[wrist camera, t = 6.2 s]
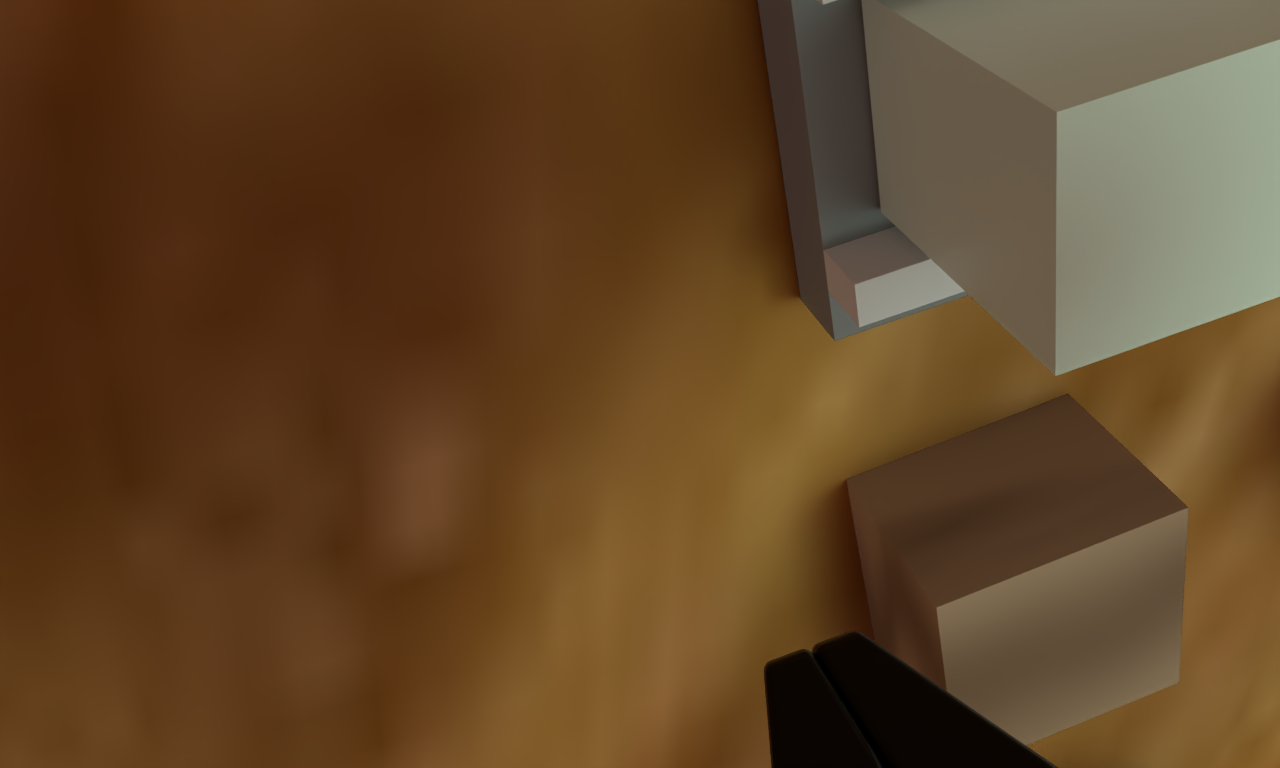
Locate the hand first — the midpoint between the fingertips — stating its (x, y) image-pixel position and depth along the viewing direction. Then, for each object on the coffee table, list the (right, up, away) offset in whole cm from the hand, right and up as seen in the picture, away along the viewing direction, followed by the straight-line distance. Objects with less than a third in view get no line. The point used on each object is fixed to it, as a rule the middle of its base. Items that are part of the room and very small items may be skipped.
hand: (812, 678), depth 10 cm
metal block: (+6, 0, +16) cm, 17 cm away
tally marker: (+4, +7, +8) cm, 12 cm away
